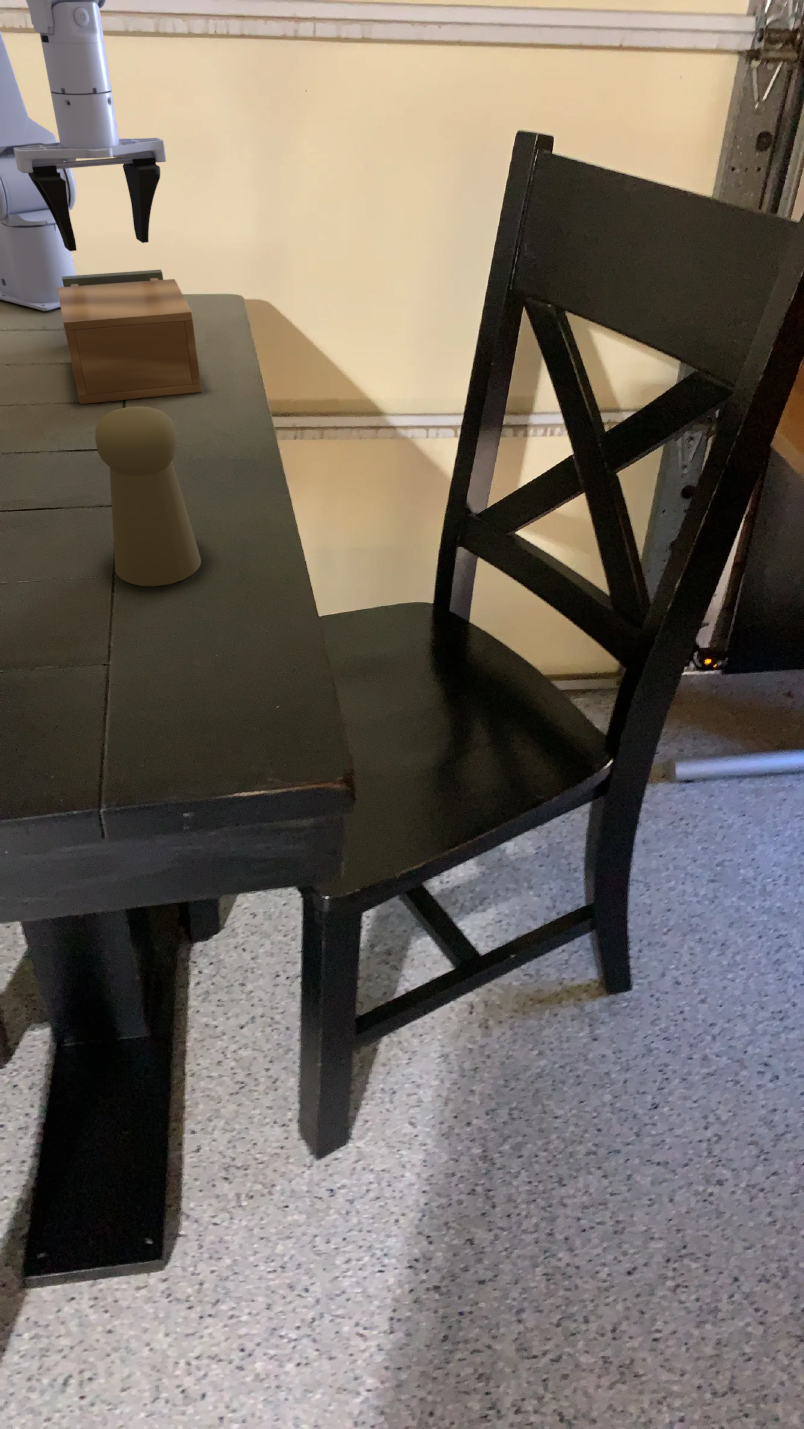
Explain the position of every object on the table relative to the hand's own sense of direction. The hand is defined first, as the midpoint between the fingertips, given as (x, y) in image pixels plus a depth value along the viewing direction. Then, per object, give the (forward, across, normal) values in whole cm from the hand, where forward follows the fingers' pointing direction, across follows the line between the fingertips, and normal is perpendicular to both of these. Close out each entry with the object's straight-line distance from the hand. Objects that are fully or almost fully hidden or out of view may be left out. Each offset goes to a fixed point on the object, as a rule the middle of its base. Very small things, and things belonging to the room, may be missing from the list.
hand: (107, 244), depth 100 cm
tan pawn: (+10, -13, -50) cm, 52 cm away
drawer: (+9, -1, -3) cm, 9 cm away
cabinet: (+10, -3, -13) cm, 16 cm away
